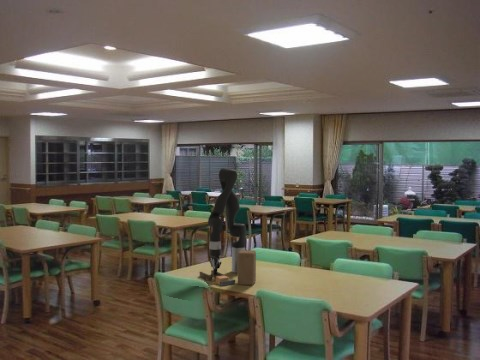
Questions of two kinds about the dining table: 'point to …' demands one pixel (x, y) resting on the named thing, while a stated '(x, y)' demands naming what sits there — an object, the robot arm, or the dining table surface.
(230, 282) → the bar
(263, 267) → the dining table surface
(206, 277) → the walnut chute
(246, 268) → the wooden block
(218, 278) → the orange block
